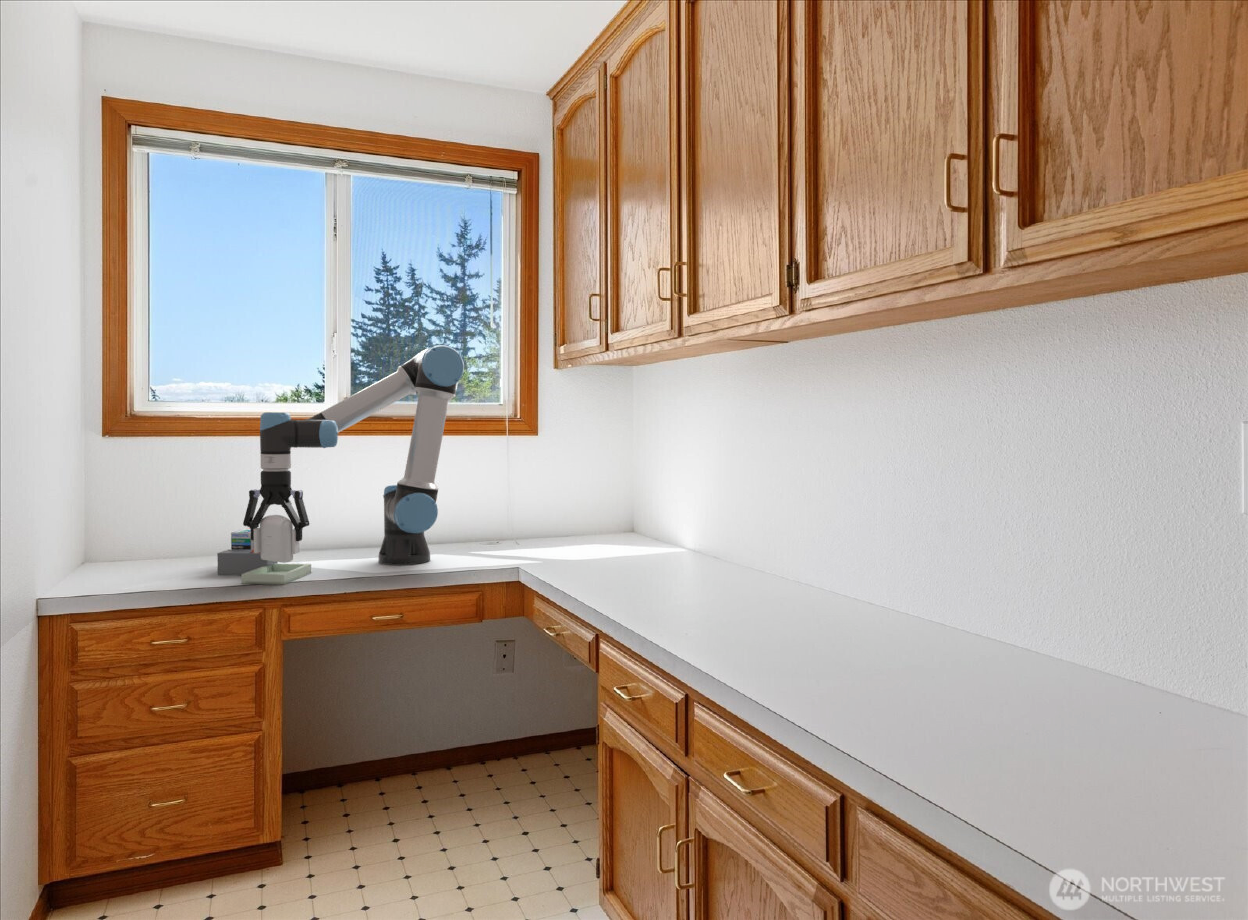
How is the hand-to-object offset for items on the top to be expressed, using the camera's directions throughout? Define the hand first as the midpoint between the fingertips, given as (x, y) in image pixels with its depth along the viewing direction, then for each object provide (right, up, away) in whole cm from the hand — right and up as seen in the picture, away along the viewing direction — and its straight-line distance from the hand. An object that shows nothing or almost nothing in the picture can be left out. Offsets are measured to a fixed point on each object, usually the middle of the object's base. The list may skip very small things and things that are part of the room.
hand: (276, 552), depth 225 cm
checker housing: (-11, -6, +7) cm, 15 cm away
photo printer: (0, -2, 0) cm, 2 cm away
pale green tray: (0, -7, 0) cm, 7 cm away
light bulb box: (-15, -6, +17) cm, 23 cm away
